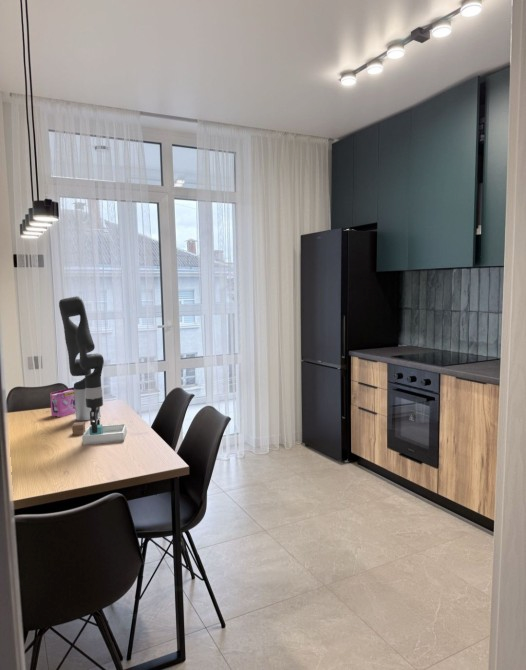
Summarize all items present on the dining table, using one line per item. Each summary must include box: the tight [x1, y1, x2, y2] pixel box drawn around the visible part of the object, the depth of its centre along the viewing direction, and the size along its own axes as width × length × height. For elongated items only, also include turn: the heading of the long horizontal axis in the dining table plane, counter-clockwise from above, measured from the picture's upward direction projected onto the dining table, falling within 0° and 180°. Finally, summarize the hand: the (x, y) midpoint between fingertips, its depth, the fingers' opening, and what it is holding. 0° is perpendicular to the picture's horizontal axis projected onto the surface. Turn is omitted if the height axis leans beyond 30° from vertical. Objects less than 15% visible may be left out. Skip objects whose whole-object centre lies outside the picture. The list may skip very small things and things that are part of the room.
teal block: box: [89, 424, 103, 435], centre depth 222 cm, size 5×5×5 cm
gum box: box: [49, 386, 76, 418], centre depth 275 cm, size 24×8×14 cm, turn 154°
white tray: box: [81, 423, 128, 446], centre depth 223 cm, size 16×18×4 cm
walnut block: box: [71, 421, 86, 436], centre depth 232 cm, size 5×5×5 cm
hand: (96, 430), depth 222 cm, fingers open, 8 cm apart
